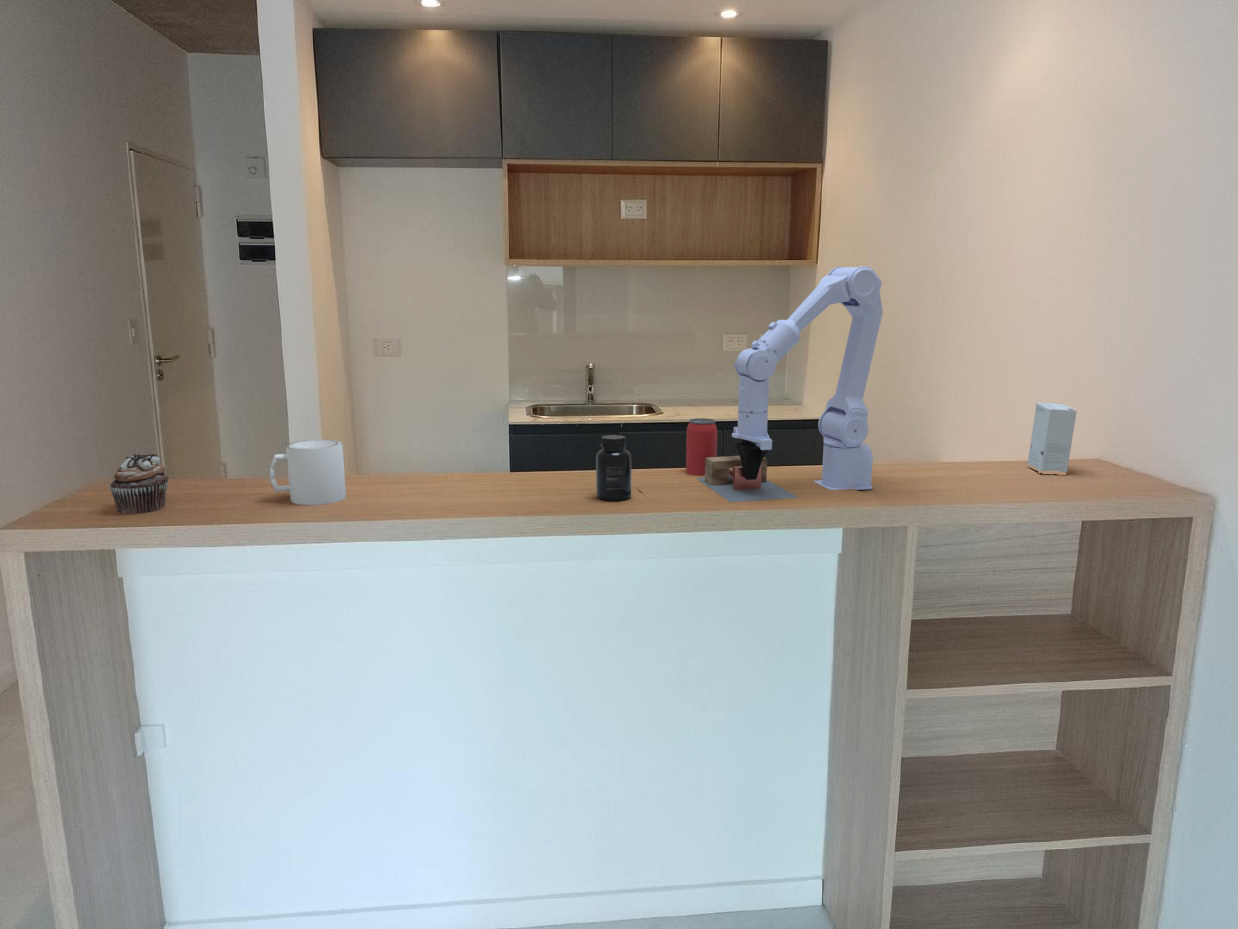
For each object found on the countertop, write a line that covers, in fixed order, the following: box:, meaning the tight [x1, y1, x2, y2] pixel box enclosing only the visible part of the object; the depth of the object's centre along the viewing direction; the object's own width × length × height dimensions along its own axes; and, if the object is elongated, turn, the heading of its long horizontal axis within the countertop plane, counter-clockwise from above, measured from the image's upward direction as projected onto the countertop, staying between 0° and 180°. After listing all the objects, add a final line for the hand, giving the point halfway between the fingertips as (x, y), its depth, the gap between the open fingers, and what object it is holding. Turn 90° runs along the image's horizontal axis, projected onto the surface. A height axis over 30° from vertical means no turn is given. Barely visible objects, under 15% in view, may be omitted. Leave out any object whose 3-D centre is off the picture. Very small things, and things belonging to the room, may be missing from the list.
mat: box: [695, 477, 799, 503], centre depth 175 cm, size 14×20×1 cm
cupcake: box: [108, 453, 169, 515], centre depth 160 cm, size 10×10×10 cm
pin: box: [729, 466, 762, 490], centre depth 176 cm, size 7×6×4 cm
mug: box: [269, 439, 347, 506], centre depth 166 cm, size 14×10×11 cm
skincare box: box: [1026, 402, 1077, 473], centre depth 191 cm, size 8×6×15 cm
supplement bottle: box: [595, 434, 632, 502], centre depth 168 cm, size 7×7×12 cm
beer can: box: [685, 417, 718, 477], centre depth 187 cm, size 7×7×12 cm
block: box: [704, 455, 768, 486], centre depth 179 cm, size 12×4×5 cm, turn 104°
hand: (750, 478), depth 172 cm, fingers closed
